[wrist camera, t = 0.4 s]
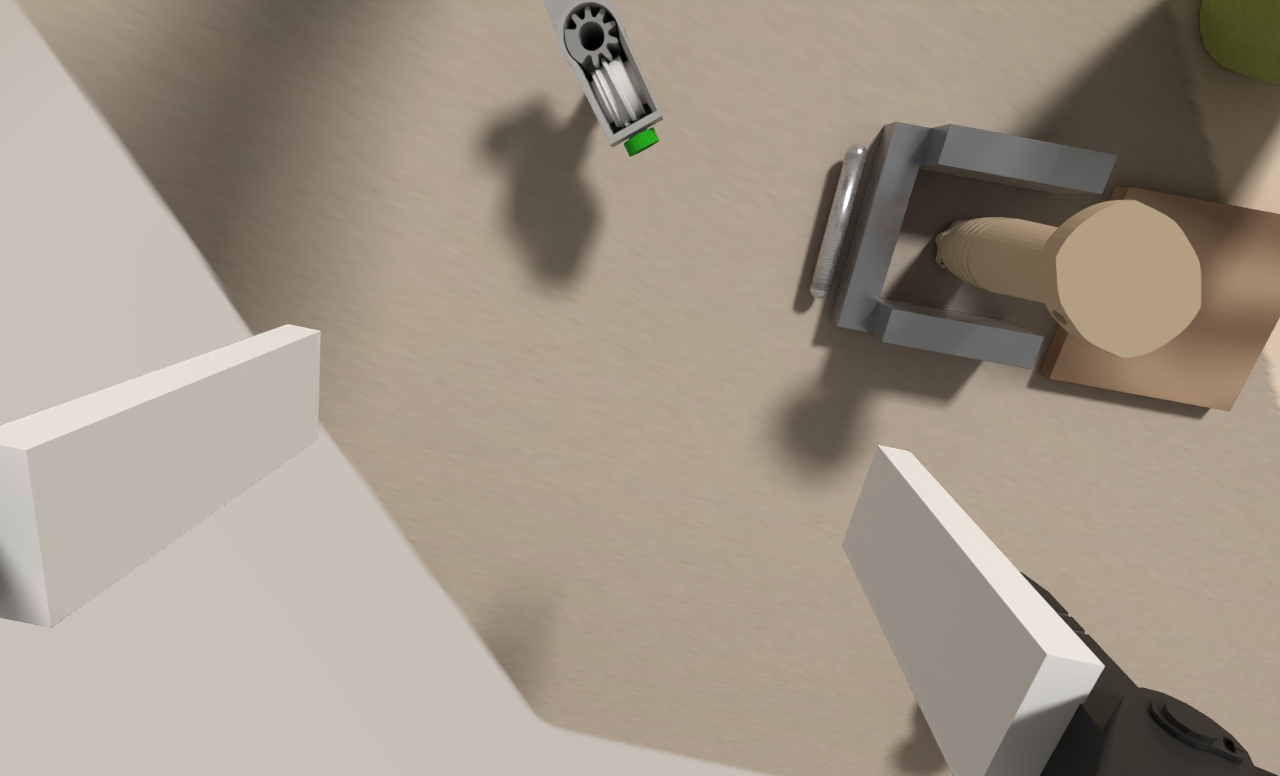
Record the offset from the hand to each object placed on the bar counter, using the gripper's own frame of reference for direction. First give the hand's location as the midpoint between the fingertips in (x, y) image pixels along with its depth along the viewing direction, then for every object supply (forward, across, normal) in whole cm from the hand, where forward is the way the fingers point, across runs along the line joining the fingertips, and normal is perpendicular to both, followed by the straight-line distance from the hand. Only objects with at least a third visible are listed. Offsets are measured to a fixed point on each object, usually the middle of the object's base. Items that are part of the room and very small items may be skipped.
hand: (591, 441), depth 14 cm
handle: (+27, +19, +6) cm, 33 cm away
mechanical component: (+27, -4, +12) cm, 30 cm away
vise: (+27, +17, +6) cm, 32 cm away
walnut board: (+27, +33, +5) cm, 43 cm away
